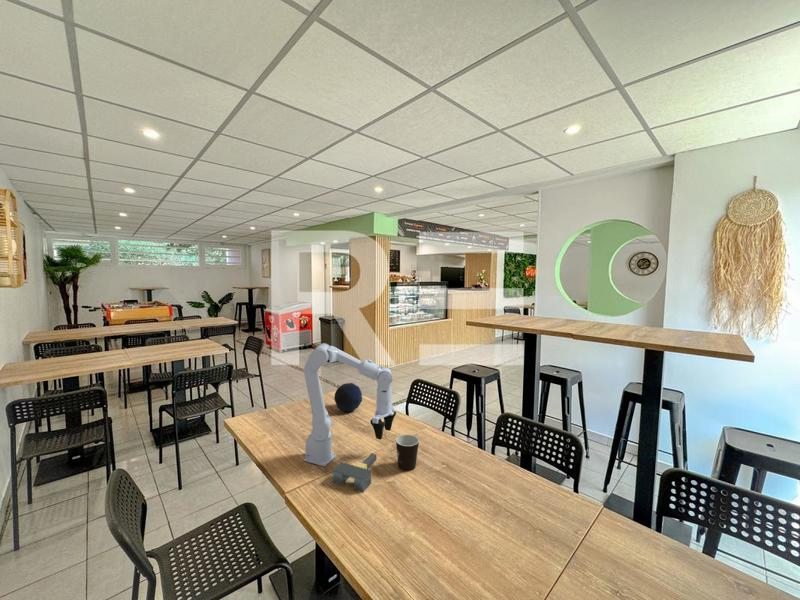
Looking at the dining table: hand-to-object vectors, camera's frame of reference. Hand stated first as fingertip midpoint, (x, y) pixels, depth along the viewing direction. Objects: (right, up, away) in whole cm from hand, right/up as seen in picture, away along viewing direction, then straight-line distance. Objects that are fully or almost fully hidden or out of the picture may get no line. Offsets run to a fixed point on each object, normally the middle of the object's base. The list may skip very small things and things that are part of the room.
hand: (383, 434), depth 125 cm
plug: (-6, -10, -5) cm, 13 cm away
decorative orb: (-21, -7, +46) cm, 51 cm away
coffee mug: (+9, -10, -3) cm, 14 cm away
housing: (-10, -10, -15) cm, 21 cm away
